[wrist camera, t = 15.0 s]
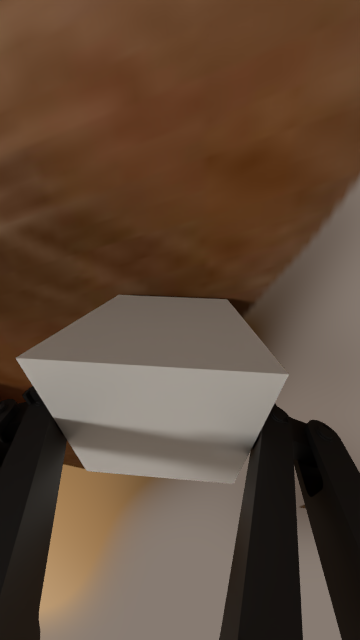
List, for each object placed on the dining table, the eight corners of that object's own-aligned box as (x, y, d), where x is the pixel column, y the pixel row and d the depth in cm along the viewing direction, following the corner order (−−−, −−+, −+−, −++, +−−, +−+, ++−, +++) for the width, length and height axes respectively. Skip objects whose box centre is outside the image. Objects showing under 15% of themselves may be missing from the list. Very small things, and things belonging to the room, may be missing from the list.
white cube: (118, 294, 13) (15, 357, 5) (227, 299, 13) (289, 374, 5) (132, 373, 18) (86, 470, 10) (212, 378, 17) (233, 484, 9)
